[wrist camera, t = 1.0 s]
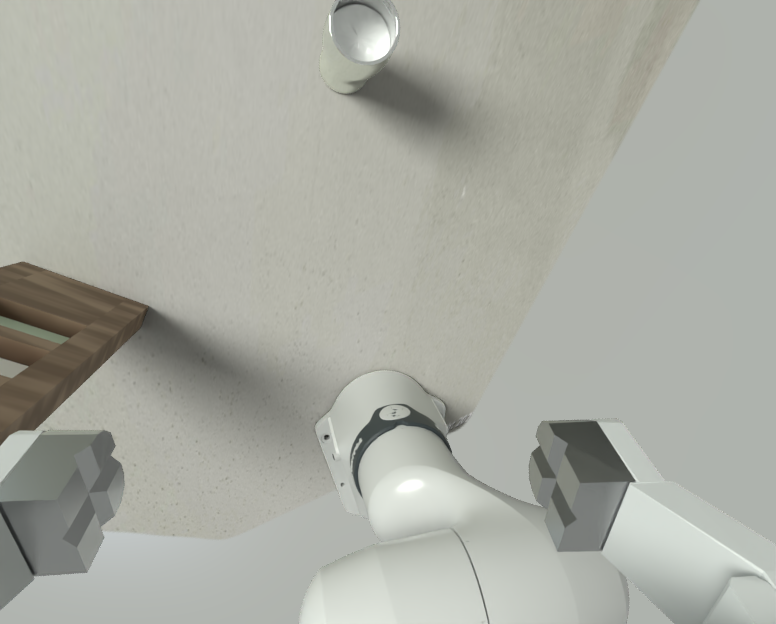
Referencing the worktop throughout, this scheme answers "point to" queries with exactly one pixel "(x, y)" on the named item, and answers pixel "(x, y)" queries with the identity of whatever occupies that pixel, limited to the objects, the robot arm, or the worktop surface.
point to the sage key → (32, 330)
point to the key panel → (49, 359)
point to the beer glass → (357, 42)
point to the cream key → (10, 368)
